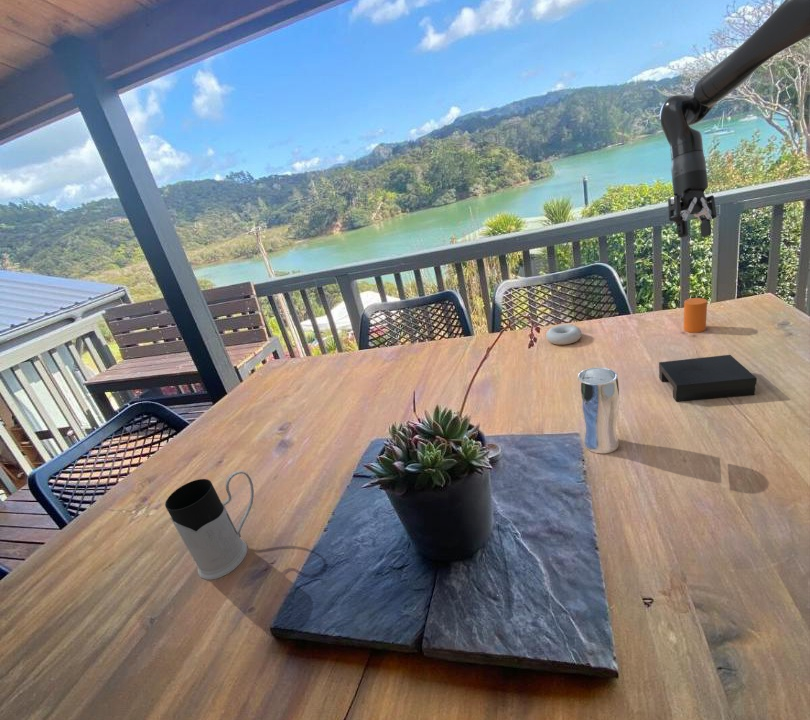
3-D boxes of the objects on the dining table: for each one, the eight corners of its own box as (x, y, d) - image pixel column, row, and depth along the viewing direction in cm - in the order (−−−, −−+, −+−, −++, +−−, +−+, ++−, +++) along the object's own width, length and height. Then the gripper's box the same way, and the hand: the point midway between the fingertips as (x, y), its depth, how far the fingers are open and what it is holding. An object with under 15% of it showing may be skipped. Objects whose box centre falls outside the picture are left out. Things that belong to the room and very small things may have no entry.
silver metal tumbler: (585, 431, 88) (580, 365, 82) (623, 436, 84) (621, 367, 78) (578, 452, 83) (572, 383, 77) (618, 458, 79) (616, 386, 73)
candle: (701, 324, 119) (702, 296, 116) (709, 331, 114) (710, 302, 111) (680, 327, 120) (681, 299, 117) (687, 333, 116) (688, 305, 113)
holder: (191, 563, 79) (154, 500, 73) (260, 514, 87) (232, 453, 81) (208, 588, 72) (170, 521, 67) (281, 533, 81) (253, 468, 75)
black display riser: (728, 370, 96) (730, 354, 95) (755, 395, 86) (756, 377, 85) (658, 377, 100) (658, 362, 98) (676, 402, 90) (676, 385, 89)
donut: (545, 335, 135) (547, 348, 127) (544, 325, 134) (546, 337, 125) (579, 331, 132) (584, 344, 124) (579, 321, 131) (583, 333, 122)
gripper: (682, 167, 107) (689, 233, 108) (722, 169, 112) (728, 231, 112) (656, 179, 114) (662, 241, 115) (694, 180, 119) (700, 239, 120)
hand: (694, 236), depth 114 cm, fingers open, 8 cm apart
